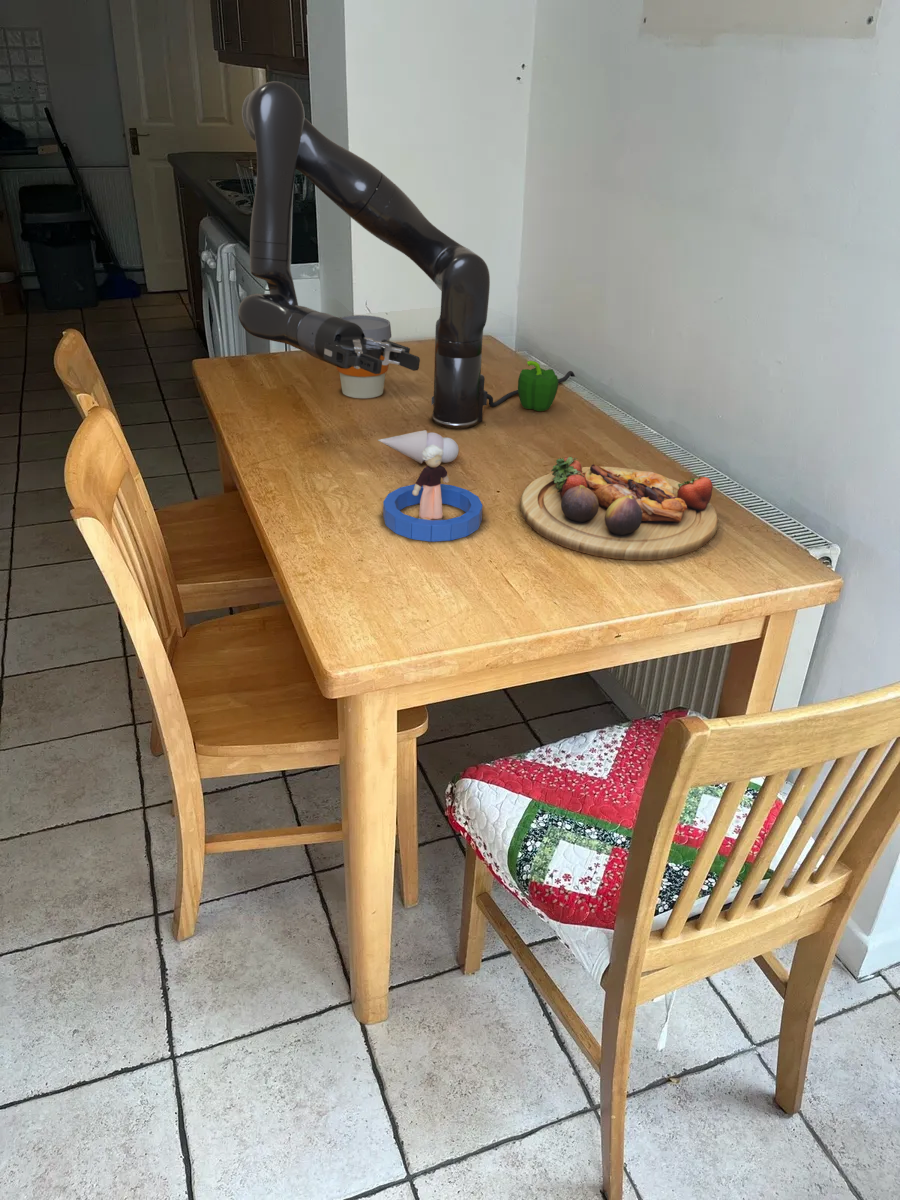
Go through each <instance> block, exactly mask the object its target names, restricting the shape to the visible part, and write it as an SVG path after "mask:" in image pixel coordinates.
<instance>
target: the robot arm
mask: <svg viewBox="0 0 900 1200" xmlns="http://www.w3.org/2000/svg"><path fill="white" fill-rule="evenodd" d="M305 116H306V115H305V108H304V104H303V102H302V99H301V97H300V95H299V94H298V93H297V92H296V90H295V89H294V88H292V86H290V85H288V84H286V83H285V82H282V81H267V82H265V83H262V84H261V85H259V86H257V87H256V88H253V90H252V91H250V92H249V93H248V94H247V95H246V96H245V98H244V100H243V102H242V105H241V120H242V123H243V126H244V129H245V130H246V132H247V134H248V135H249V136H250V138H251V139H252V140H253V141H254V142H255V150H256V181H255V191H254V197H253V198H254V199H253V204H252V212H251V219H250V228H249V229H250V230H249V271H250V273H251V275H252V276H253V277H255V278H258V279H261V280H263V281H265V282H266V285H267V289H268V291H269V293H252V294H249V295H247V296H245V297H244V298H243V299H242V300H241V301H240V303H239V306H238V311H237V314H238V320H239V323H240V325H241V327H242V328H243V329H244V331H246V332H247V333H249V334H250V335H252V336H253V337H256V338H258V339H261V340H262V339H263V340H266V341H271V342H276V343H282V344H285V345H288V346H291V347H293V348H295V349H298V350H299V351H302V352H305V353H307V354H309V355H310V356H311V357H313V358H315V359H317V360H320V361H323V362H325V363H328V364H330V365H332V366H335V367H336V368H337V367H339V368H344V369H348V368H350V367H354V368H356V369H364V370H366V371H369V372H371V373H374V374H380V373H381V367H382V365H385V366H386V365H388V366H389V364H393V365H397V366H400V367H403V368H406V369H408V370H410V371H415V372H416V371H419V369H420V363H421V358H420V357H419V356H417V355H415V354H412V353H410V351H411V348H410V347H408V346H406V345H403V344H400V343H397V342H393V341H391V340H390V341H388V340H386V339H384V340H382V341H381V342H380V341H375V340H374V339H372V338H366V337H365V335H364V333H363V330H362V329H361V328H360V326H358V325H357V324H355V323H352V322H350V321H347V320H344V319H342V318H340V316H336V315H334V314H330V313H327V312H323V311H318V310H315V309H313V308H310V307H307V306H305V305H304V306H303V305H299V302H298V297H297V292H296V288H295V284H294V283H295V282H294V279H293V274H292V244H293V243H292V238H293V237H292V236H293V206H294V205H293V203H294V187H295V178H296V170H297V171H298V172H300V173H301V174H302V175H304V176H305V177H306V178H307V179H308V180H309V181H310V182H311V183H313V184H314V185H315V187H316V188H318V189H319V191H321V192H322V193H323V194H324V195H325V196H326V197H327V198H328V199H330V200H331V202H333V204H335V205H336V206H337V207H339V209H341V210H342V211H343V212H344V213H345V214H346V215H347V216H348V217H350V218H351V219H352V220H354V221H355V222H356V223H357V224H358V225H360V226H361V227H362V228H363V229H364V230H366V231H367V232H368V233H370V234H371V235H373V236H374V237H375V238H377V239H379V240H380V241H381V242H383V243H385V244H386V245H388V246H390V247H391V248H393V249H394V250H397V251H398V252H400V253H401V254H403V255H404V256H406V257H408V258H409V259H410V260H411V261H412V262H413V263H414V264H415V265H416V266H417V267H418V268H419V269H421V271H423V272H424V274H425V275H426V276H427V277H428V278H429V279H430V280H431V281H432V282H433V283H434V284H435V285H436V287H437V288H438V289H439V290H440V292H441V293H440V295H441V297H440V312H439V313H440V314H439V318H438V319H437V320H436V322H435V337H434V339H435V340H434V368H433V369H434V370H433V371H434V373H433V396H431V406H432V405H433V409H432V422H433V423H434V424H435V425H437V426H439V427H442V428H447V429H456V430H457V429H459V430H460V429H469V428H472V427H475V426H476V425H478V424H479V423H482V422H483V415H484V413H483V412H484V406H487V404H488V405H489V407H491V408H495V407H498V406H499V405H500V404H502V403H505V401H507V400H508V399H510V398H512V397H515V396H517V395H519V393H518V389H516V390H513V391H511V392H508V393H506V394H504V395H503V396H502V397H500V398H499V399H498V400H497V401H494V398H493V396H492V395H491V394H490V393H488V391H487V390H485V379H486V378H485V376H484V374H482V355H483V339H484V329H485V326H486V324H487V320H488V311H489V301H490V288H491V287H490V286H491V277H490V269H489V267H488V264H487V263H486V261H485V260H484V259H483V258H482V257H481V256H480V255H478V254H477V253H475V252H473V251H472V250H471V249H470V248H468V247H466V246H464V245H462V244H461V243H459V242H457V241H455V240H454V239H453V238H451V237H450V236H449V235H447V234H446V233H444V232H443V231H441V230H440V229H439V228H437V227H436V226H435V225H433V224H432V222H430V221H429V219H427V218H426V216H425V215H424V214H423V213H422V211H421V210H420V209H419V207H418V206H417V205H416V204H415V203H414V201H412V199H410V197H409V196H408V195H407V194H406V193H405V192H404V191H403V190H402V189H401V188H400V187H399V186H398V185H397V184H396V183H394V182H393V181H392V180H391V179H390V178H389V177H388V176H387V175H385V174H384V173H383V172H382V171H381V170H380V169H378V168H377V167H376V166H374V165H373V164H371V163H370V162H368V161H367V160H365V159H364V158H363V157H360V156H358V154H355V153H353V152H352V151H350V150H348V149H347V148H344V147H343V146H341V145H339V144H338V143H336V142H334V141H332V140H331V139H330V138H328V137H327V136H326V135H324V134H323V133H322V132H321V131H320V130H319V129H317V127H316V126H315V125H313V124H312V123H311V122H310V121H309V120H308V119H307V118H306V117H305ZM381 355H382V356H383V357H385V358H384V360H380V357H381ZM570 377H572V378H574V377H576V375H575V373H574V372H573V370H569V371H567V372H566V374H565V375H564V376H563V377H560V378H558V384H562V383H563V382H566V381H568V379H569V378H570Z"/></svg>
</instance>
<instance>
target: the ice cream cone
mask: <svg viewBox="0 0 900 1200" xmlns="http://www.w3.org/2000/svg"><path fill="white" fill-rule="evenodd" d="M377 441H378V442H380V443H382V444H384V445H386V446H387V447H389V448H391V449H393V450H395V451H397V452H398V453H400V454H401V455H404V456H406V457H408V458H410V459H411V460H413V461H415V462H417V463H419V464H423V463H426V462H425V460H424V459H423V455H422V453H423V450H424V449H425V448H426V447H428V446H430V445H432V444H433V445H435V446H439V447H440V448H442V450H443V456H442V457H441V458H442V460H441V463H443V464H448V463H452V462H453V461H455V460H456V459H457V457H458V455H459V453H460V452H459V450H460V449H459V445H458V443H457V442H456V441H455V440H454V439H453V438H451V437H445V436H444V437H443V436H442V435H441V434H439V433H437V432H434V431H433V432H428V431H427V429H424V430H419V431H413V432H409V433H405V434H400V435H395V436H391V437H386V438H380V439H377Z"/></svg>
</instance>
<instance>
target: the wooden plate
mask: <svg viewBox="0 0 900 1200" xmlns="http://www.w3.org/2000/svg"><path fill="white" fill-rule="evenodd" d="M555 463H556V464H555V465H553V466H552V468H551V470H550V472H549V473H547V474H544V475H542V476H540V477H537V478H536V479H534V480H533V481H532V482H530V483H529V484H528V485H527V486H526V487H525V489H524V490H523V491H522V494H521V496H520V500H519V508H520V513H521V515H522V517H523V519H524V521H525V522H526V523H527V525H528V526H530V528H531V529H533V530H534V531H535V532H536V533H538V534H539V535H540V536H542V537H544V538H545V539H547V540H549V541H550V542H553V543H555V544H557V545H559V546H562V547H564V548H566V549H570V550H573V551H575V552H579V553H583V554H587V555H591V556H595V557H601V558H602V557H603V558H609V559H614V560H615V559H616V560H624V561H625V560H626V561H653V560H654V561H655V560H664V559H671V558H674V557H675V558H676V557H679V556H683V555H686V554H689V553H692V552H694V551H696V550H698V549H701V548H702V547H703V546H705V545H706V544H708V543H709V542H710V541H711V540H712V539H713V538H714V536H715V534H717V531H718V528H719V527H718V526H719V517H718V513H717V511H716V509H715V507H714V506H713V504H712V503H711V502H710V501H711V499H712V494H713V489H714V488H713V487H714V486H713V481H712V480H711V478H709V477H707V476H704V475H703V476H702V475H700V476H699V477H694V478H692V477H690V480H691V481H690V480H687V481H685V480H683V483H682V482H680V481H678V480H675V479H672V478H670V477H667V476H664V475H662V474H660V473H655V472H654V471H647V470H646V471H645V470H639V469H633V468H626V467H617V466H599V465H596V464H594V463H593V464H591V465H590V466H582V463H581V462H580V461H578V458H577V457H576V458H575V457H574V458H573V456H568V457H562V458H561V457H560V458H557V459H556V460H555Z"/></svg>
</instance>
